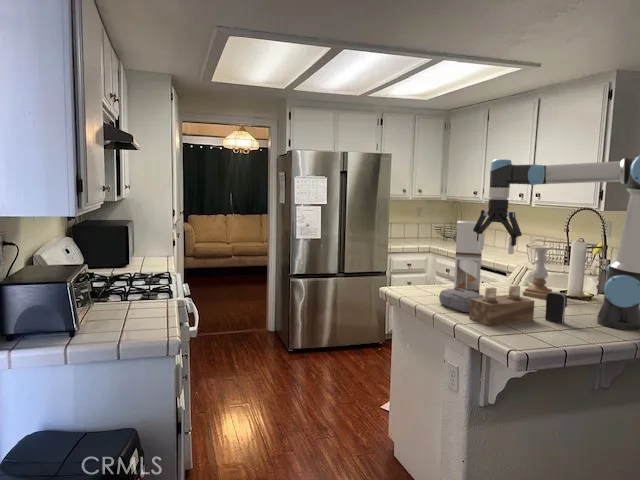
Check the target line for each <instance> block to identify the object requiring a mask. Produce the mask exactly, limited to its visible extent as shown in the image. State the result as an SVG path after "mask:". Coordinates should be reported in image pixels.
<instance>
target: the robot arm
mask: <svg viewBox="0 0 640 480" xmlns="http://www.w3.org/2000/svg"><path fill="white" fill-rule="evenodd" d="M490 164H491V165H490V171H489V173H490V174H489V189H488V190H489V191H488V198H489V200H488V201H487V202H488V203H487V204H488V205H487V206H488V207H487V208H488V210H487V209H482V210H480V216H479V217H478V220H477V221H476V222H477V223H476V225H475V227H474V229H473V231H474V232H476V233H477V241H478V250H482V251H483V250H484V245H485V244H484V241H485V233H484V232H485V231H486V229H488V227H489V226H490V225H491V224H492V223H501V224H502V226H504V228H505V229H506V231H507V233H508V235H509V236H510V237H509V238H508V246H507V247H508V248H507V254H508V255H513V254H515V253H514V252H515V250H514V249H515V247H516V245H517V238H519V237H522V235H523V234H522V232H521V228H520V226H519V223H518V221H517V218H516V212H515V211H509V212H508V209H509V204H510V202H509V200H508V199H509V198H510V189H511V188H510V187H511V186H510V185H531V186H534V185H535V186H536V185H537V186H538V185H551V184H552V185H556V184H581V183H582V184H584V183H585V184H586V183H589V184H590V183H592V184H593V183H618V182H619V183H620V184H622V185H627V186H626V191H627V192H628V193H629V200H628V204H627V208H626V214H625V218H624V222H623V226H622V231H621V234H620V239H619V243H618V248H617V253H616V257H615V260H614V261H613V262H611V263H609V264H608V265H607V267H606V270H605V272H606V274H605V283H604V286H603V293H604V295H603V296H604V297H603V303H602V305H601V307H600V310H599V311H598V313H597V315H596V316H597V317H596V322H597V324H600V325H602V326H605V327H609V328H611V329H618V330H626V331H640V154H639V155H637V156H634V157H624V158H622V159H621V160H620V161H619V160H617V161H601V162H585V163H584V162H583V163H581V162H580V163H567V164H549V165H547V164H546V165H545V164H544V165H543V164H535V163H534V164H513V163H512V160H511V159H506V158H505V159H503V158H501V159H493V160H492V161H491V163H490ZM487 216H488V217H487ZM486 217H487V218H486ZM508 218H509V219H508ZM482 224H483V225H482ZM482 233H483V234H482Z"/></svg>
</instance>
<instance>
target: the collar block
mask: <svg viewBox="0 0 640 480" xmlns="http://www.w3.org/2000/svg"><path fill="white" fill-rule="evenodd" d="M508 298H509V294H505V295H496V302H494V303H489V302H486V301H485V296H483V298H474V299H470V312H468V313H469V315H468V318H469V320H471V319H472V320H471V321H474V322H476V321H477V323H479V324H481V323H482V325H484V326H486V325H487V327H494V326H502V325H510V324H512V325H513V324H519V323H526V322H533V321H534V316H535V315H534V311H535V310H534V309H535V300H533V299H531V298H526V297H523V296H520V298H519V300H511V299H508Z"/></svg>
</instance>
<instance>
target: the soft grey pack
mask: <svg viewBox="0 0 640 480" xmlns="http://www.w3.org/2000/svg"><path fill="white" fill-rule="evenodd" d="M460 288H461V287H460ZM483 297H484V296H483V295H482V294H480V292H479V293H476V292H473V291H471V290H468V289H465V288H461V289H458V288H454V287H453V288H446V289H443V290H441V291H440V293H439V298H438V299H439V302H440V304H441V305H442V306H444V307H447V308H448V307H449V308H448V309H451V310H454V311H457V312H464V313H469V312H470V299H474V298H483Z"/></svg>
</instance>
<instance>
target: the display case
mask: <svg viewBox="0 0 640 480" xmlns="http://www.w3.org/2000/svg"><path fill="white" fill-rule="evenodd" d="M476 223H477V221H472V220H471V221H470V220H469V221H468V220H457V222H456V243H455V244H456V245H455V258H454V259H455V260H454V261H455V262H454V263H455V266H454V284H453V289H454V288H458V289H461V288H465V289H468V290H471V291H473V292H476V293H479V294H480V284H481V271H482V270H481V267H482V253H483V252H482V251H483V250H478V241H477V233H476V232H474V231H473V229H474V227H475V225H476ZM483 224H484V223H483ZM483 224H482V225H483ZM482 234H484V232H483V233H482ZM460 287H461V288H460Z"/></svg>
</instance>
